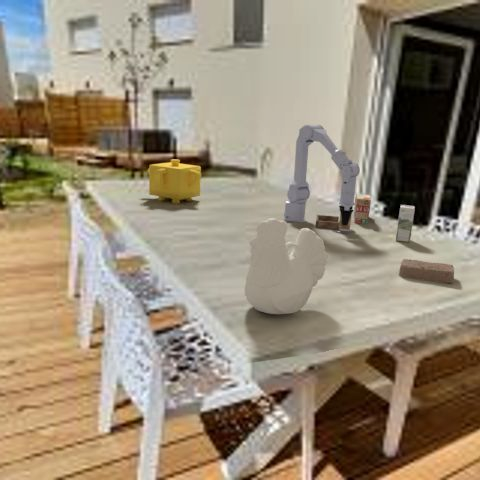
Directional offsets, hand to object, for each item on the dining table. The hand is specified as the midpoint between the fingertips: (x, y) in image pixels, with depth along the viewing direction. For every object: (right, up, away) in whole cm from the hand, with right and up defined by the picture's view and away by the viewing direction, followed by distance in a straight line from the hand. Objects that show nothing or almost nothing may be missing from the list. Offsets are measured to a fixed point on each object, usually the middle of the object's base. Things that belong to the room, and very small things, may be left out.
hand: (344, 223), depth 218 cm
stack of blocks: (+13, +2, +27) cm, 30 cm away
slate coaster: (0, -4, +1) cm, 4 cm away
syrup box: (+23, -7, -7) cm, 25 cm away
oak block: (0, -2, 0) cm, 2 cm away
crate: (-6, -1, +11) cm, 12 cm away
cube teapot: (-79, +14, +53) cm, 96 cm away
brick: (+16, -19, -50) cm, 56 cm away
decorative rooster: (-32, -25, -82) cm, 91 cm away
